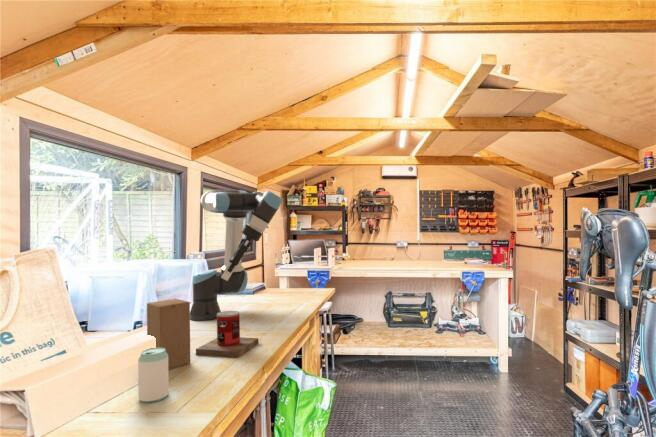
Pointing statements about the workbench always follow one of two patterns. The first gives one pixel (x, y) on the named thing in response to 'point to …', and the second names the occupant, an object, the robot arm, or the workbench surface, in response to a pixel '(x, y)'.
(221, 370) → the workbench surface
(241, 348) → the walnut board
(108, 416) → the workbench surface
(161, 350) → the can
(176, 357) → the wooden block
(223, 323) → the canned food
